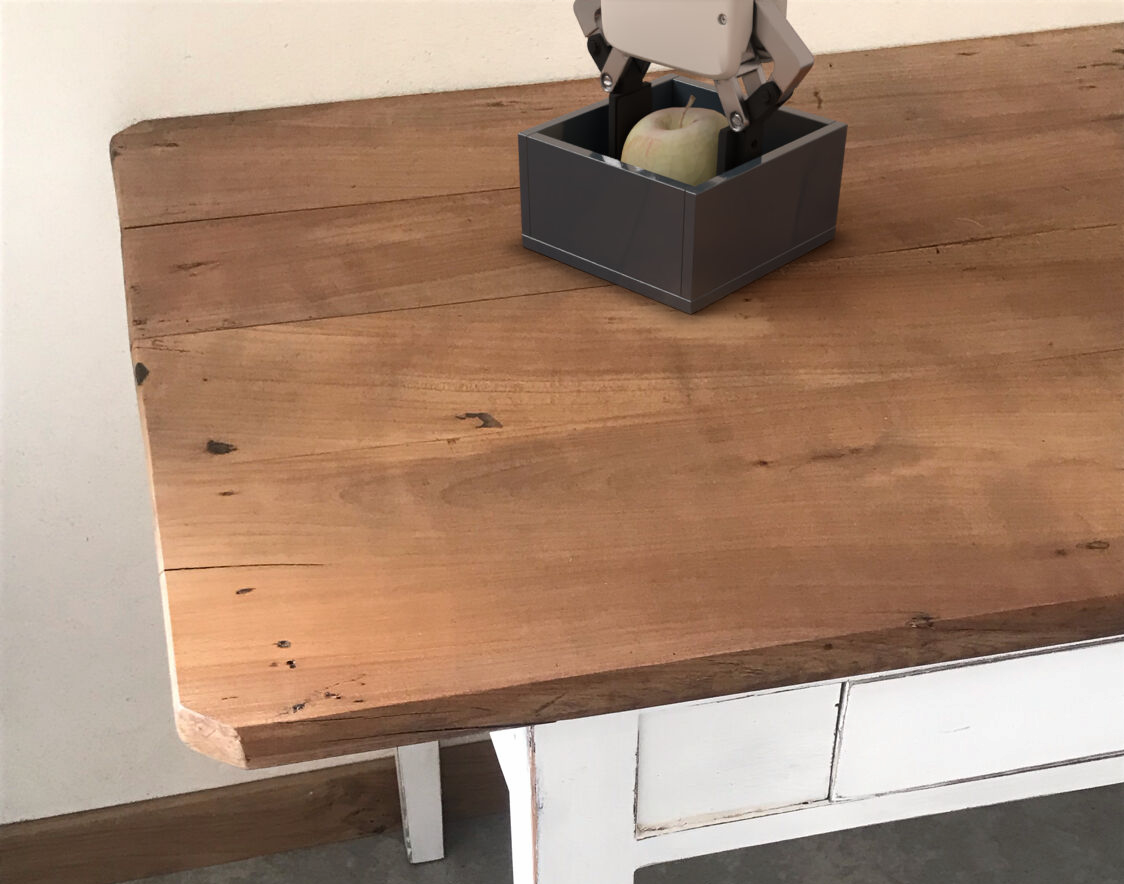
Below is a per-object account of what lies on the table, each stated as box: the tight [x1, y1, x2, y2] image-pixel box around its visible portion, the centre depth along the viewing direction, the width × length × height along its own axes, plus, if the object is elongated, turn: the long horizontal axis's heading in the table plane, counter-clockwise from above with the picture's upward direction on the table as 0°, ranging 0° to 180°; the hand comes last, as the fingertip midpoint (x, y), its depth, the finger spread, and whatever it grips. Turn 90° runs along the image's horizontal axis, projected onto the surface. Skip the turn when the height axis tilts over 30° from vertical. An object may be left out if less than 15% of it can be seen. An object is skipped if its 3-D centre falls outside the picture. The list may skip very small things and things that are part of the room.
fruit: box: [621, 95, 729, 187], centre depth 81 cm, size 8×7×8 cm
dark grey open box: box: [517, 72, 849, 315], centre depth 82 cm, size 14×14×7 cm
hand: (682, 173), depth 82 cm, fingers closed on fruit, 7 cm apart
